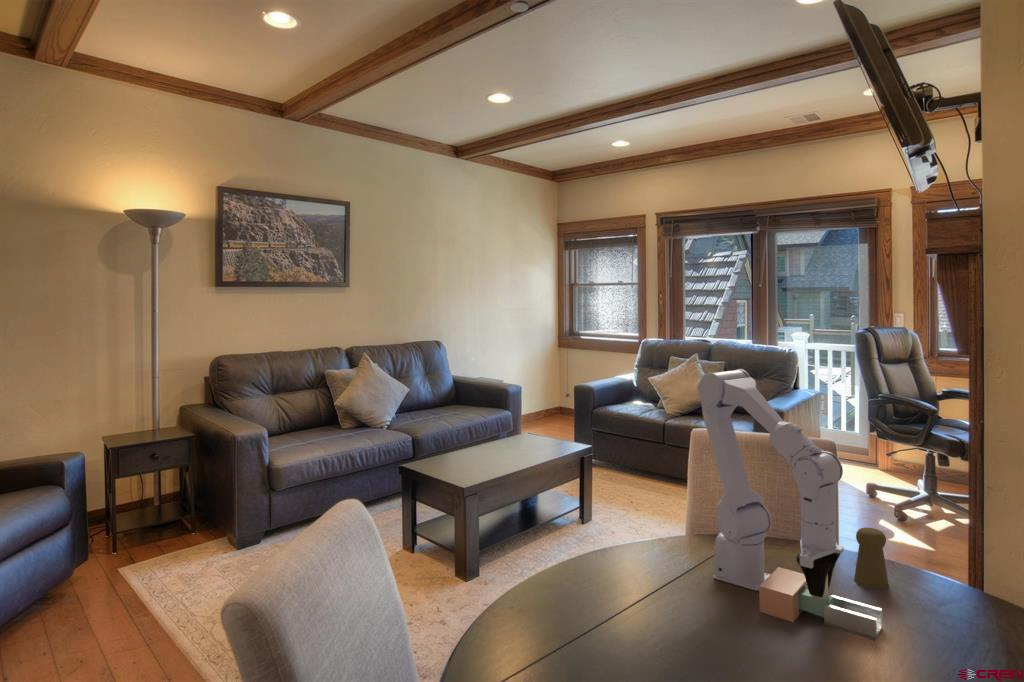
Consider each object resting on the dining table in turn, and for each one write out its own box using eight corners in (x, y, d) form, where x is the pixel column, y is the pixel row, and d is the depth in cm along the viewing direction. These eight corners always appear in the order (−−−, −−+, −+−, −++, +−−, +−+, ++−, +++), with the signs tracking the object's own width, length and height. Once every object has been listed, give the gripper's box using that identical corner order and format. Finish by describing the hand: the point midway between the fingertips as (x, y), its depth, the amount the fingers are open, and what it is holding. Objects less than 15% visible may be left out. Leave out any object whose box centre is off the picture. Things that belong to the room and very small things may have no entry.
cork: (894, 590, 117) (893, 536, 116) (860, 588, 118) (860, 535, 117) (881, 576, 123) (881, 524, 122) (849, 574, 124) (849, 523, 123)
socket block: (759, 611, 111) (759, 585, 111) (778, 591, 119) (778, 567, 118) (793, 622, 107) (792, 595, 107) (810, 600, 115) (810, 575, 114)
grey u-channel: (824, 624, 106) (824, 605, 106) (832, 613, 110) (832, 594, 109) (875, 640, 101) (875, 620, 100) (882, 628, 104) (882, 608, 104)
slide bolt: (783, 604, 112) (782, 566, 111) (788, 598, 114) (787, 561, 113) (829, 618, 106) (828, 578, 106) (833, 612, 108) (833, 573, 108)
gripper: (830, 537, 100) (831, 615, 101) (853, 512, 110) (854, 583, 111) (786, 527, 105) (788, 602, 105) (812, 505, 115) (813, 572, 116)
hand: (819, 591), depth 109 cm, fingers closed on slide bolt, 3 cm apart
